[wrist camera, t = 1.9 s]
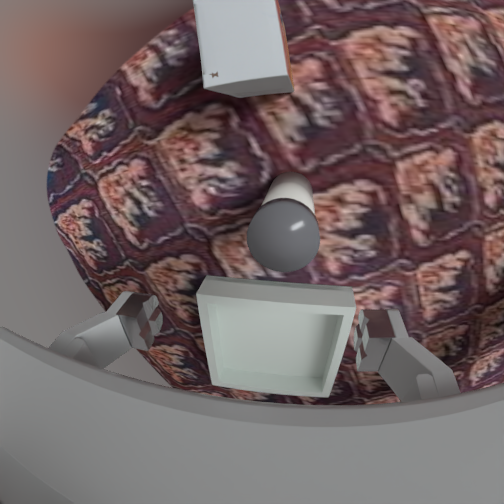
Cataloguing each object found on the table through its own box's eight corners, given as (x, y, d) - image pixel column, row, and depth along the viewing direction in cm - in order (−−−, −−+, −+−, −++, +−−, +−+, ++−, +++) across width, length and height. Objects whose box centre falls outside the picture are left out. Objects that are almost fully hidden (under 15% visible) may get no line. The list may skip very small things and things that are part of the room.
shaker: (315, 171, 27) (322, 207, 17) (312, 215, 29) (316, 274, 19) (268, 168, 28) (246, 203, 18) (267, 212, 30) (247, 269, 20)
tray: (351, 286, 32) (356, 307, 29) (328, 377, 41) (328, 397, 37) (206, 275, 35) (196, 293, 32) (218, 366, 43) (212, 384, 40)
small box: (295, 92, 24) (290, 78, 14) (238, 98, 25) (202, 91, 16) (284, 21, 20) (272, -24, 11) (228, 29, 21) (190, -7, 12)
